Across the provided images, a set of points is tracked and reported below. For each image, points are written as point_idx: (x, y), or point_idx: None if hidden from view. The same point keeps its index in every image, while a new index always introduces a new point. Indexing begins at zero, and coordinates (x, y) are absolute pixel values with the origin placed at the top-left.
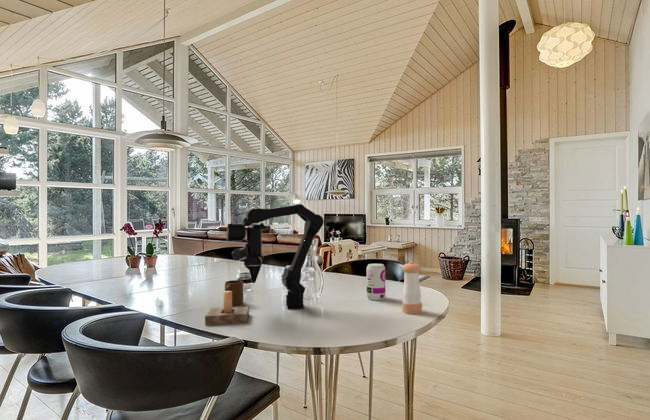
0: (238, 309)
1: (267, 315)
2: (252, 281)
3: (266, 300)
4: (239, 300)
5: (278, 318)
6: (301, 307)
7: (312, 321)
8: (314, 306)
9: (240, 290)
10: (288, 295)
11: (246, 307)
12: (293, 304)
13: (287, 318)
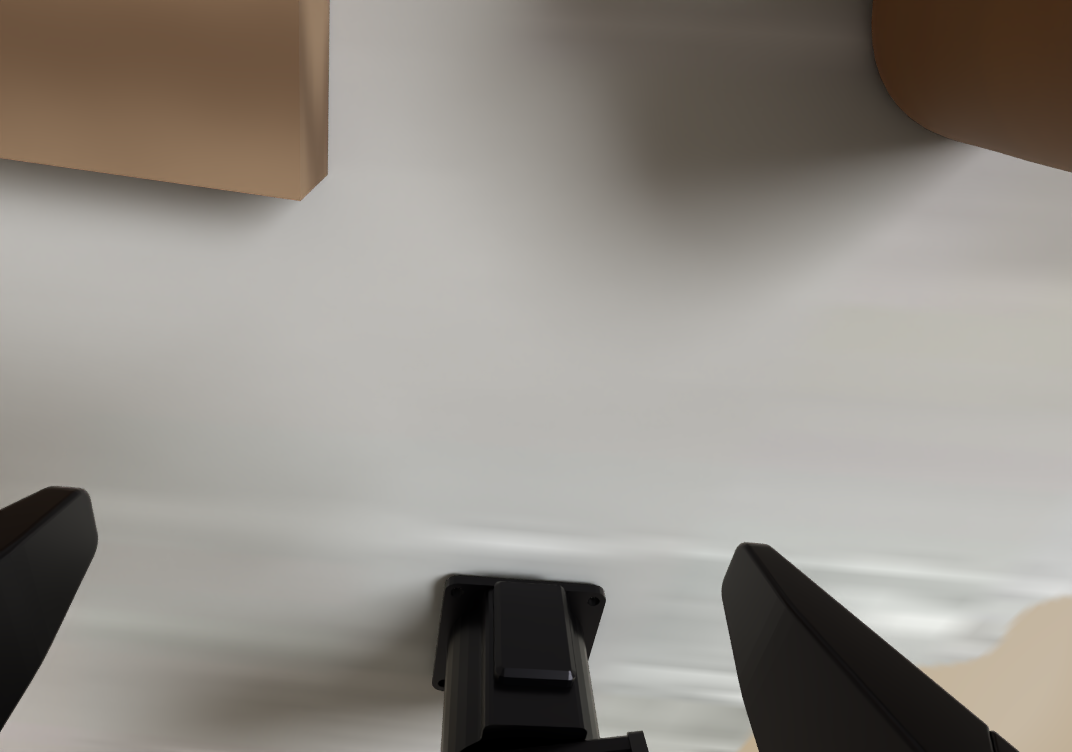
0: (134, 13)
1: (257, 382)
2: (8, 518)
3: (913, 425)
4: (909, 77)
5: (127, 470)
6: (434, 673)
7: None
8: None
9: (1033, 119)
10: (484, 698)
11: (253, 162)
12: (452, 648)
13: (123, 539)
